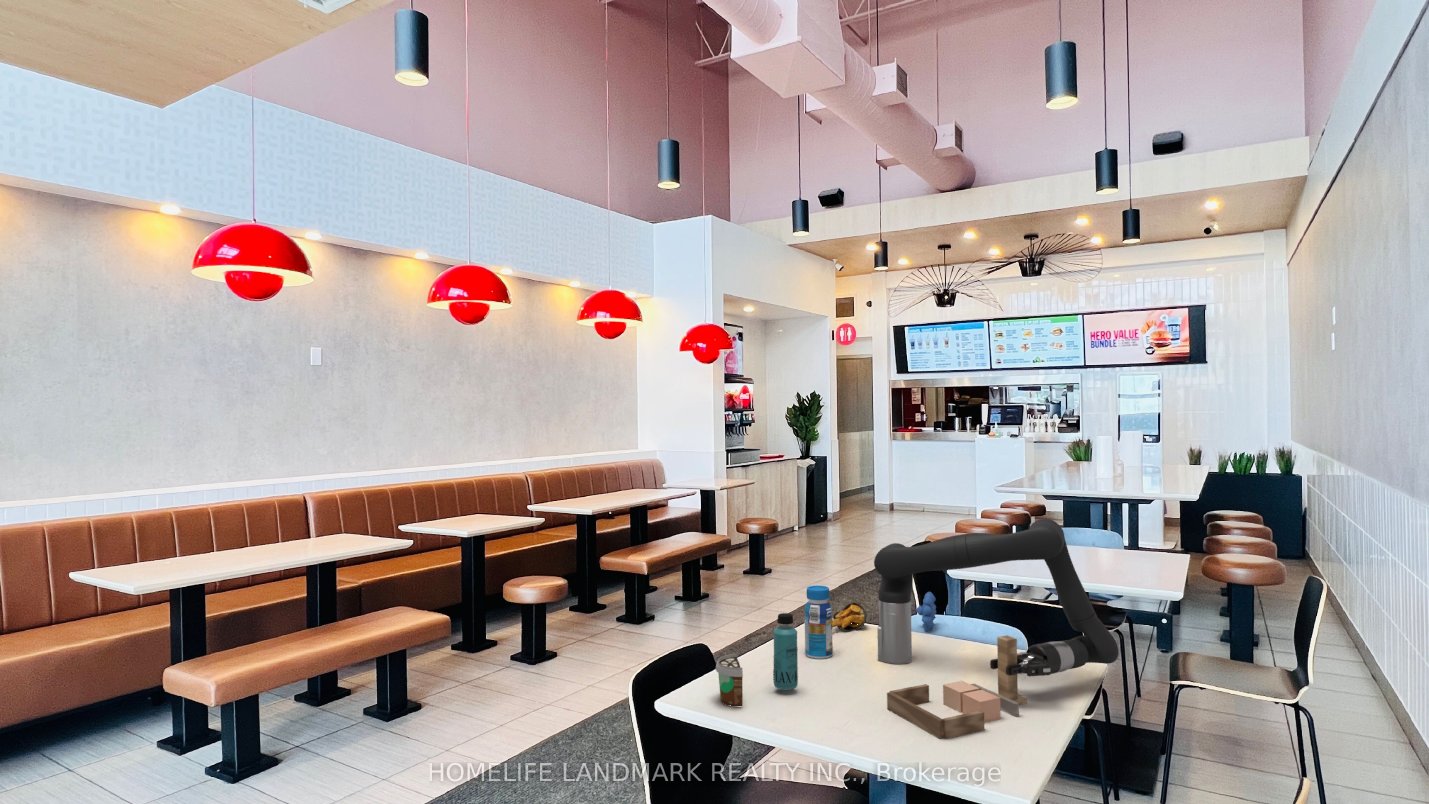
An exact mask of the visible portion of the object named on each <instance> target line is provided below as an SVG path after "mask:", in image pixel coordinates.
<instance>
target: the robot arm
mask: <svg viewBox="0 0 1429 804" xmlns="http://www.w3.org/2000/svg"><path fill="white" fill-rule="evenodd" d="M1071 558H1072V557H1071V555H1070V553H1069V550H1068V546H1067V541H1066V538H1065V533H1064V530H1063V528H1062V526H1061V525H1060V524H1059V523H1057V522H1056V521H1055V520H1053V519H1050V518H1039V519H1037V520H1035V521H1033V523H1031V525H1030V527H1029V528H1028V529H1025V530H1021V531H1017V532H1016V531H1015V532H1012V533H1011V532H1010V533H1006V534H1005V533H1002V534H998V533H988V532H987V533H986V532H969V533H964V534H963V533H962V534H957V535H951V536H947V537H942V538H940V539H936V540H933V541H930V542H927V543H924V544H921V545H914V546H906V545H904V544H903V543H902V544H901V543H898V542H897V543H896V542H894V543H890V544H888V545H885V546H884V547H882V548H880V550H879V551H878V552H877V553H876V555H875V557H874V560H873V564H874V569H875V571H876V572H877V573H878V574H879V575H880V576H881V581H880V586H879V589H878V594H877V595H878V626H877V661H880V662H884V663H888V664H893V665H894V664H895V665H901V664H902V665H903V664H904V665H905V664H908V663H911V662H912V660H913V657H912V656H913V652H912V651H913V648H912V646H913V644H912V643H913V642H912V591H913V586H914V583H913V582H914V579H913V578H914V577H913V576H914V574H918V573H924V572H934V571H939V572H941V571H951V570H953V571H954V570H962V569H970V568H977V567H983V566H989V565H996V564H1001V563H1006V562H1007V563H1008V562H1012V561H1014V562H1016V561H1036V560H1042V561H1044V562H1045V564H1046V566H1047V568H1048V570H1049V573H1050V576H1051V578H1052V580H1053V583H1054V588H1055V591H1056V593H1057V598H1058V600H1059V602H1060V604H1061V608H1062V609H1063V613H1064V614H1065V616H1066V619H1067V620H1068V623H1069V624H1070V626H1071V628H1072V629H1073V630H1074V631H1076V632H1078V633H1079V632H1080V633H1081V634H1083V635H1079V636H1075V637H1073V638H1071V639H1067V640H1059V641H1048V642H1043V643H1037V644H1032V645H1030V646H1029V647H1028V648H1027V650H1026V651H1020V652H1019V653H1018V652H1017V664H1014V665H1009V666H1006V674H1007V675H1009V676H1011V675H1016V674H1017V675H1021V676H1025V675H1027V677H1030V678H1031V677H1044V676H1051V675H1052V674H1058V673H1063V672H1066V671H1068V670H1073V669H1076V668H1081V667H1083V666H1085V665H1086V664H1090V663H1093V664H1107V665H1109V664H1112V663H1114V662H1116V661H1117V659H1118V658H1119V655H1120V654H1119V646H1118V643H1117V641H1116V639H1115V637H1114V636H1113V635H1112V633H1111V632H1110V631H1109V629H1108V628H1107V627H1106V626H1105V624H1104V623H1103V622H1102V621H1101V619H1099V617H1098V615H1097V613H1096V610H1095V609H1094V607H1093V605H1092V603H1091V601H1090V598H1089V596H1088V595H1087V592H1086V590H1085V588H1084V586H1083V584H1082V581H1081V580H1080V577H1079V576H1078V573H1077V571H1076V568H1075V566H1074V563H1073V561H1072V559H1071ZM996 656H997V657H998V653H997V655H996ZM989 662H990V663H989V665H990V666H989V667H990V669H991V670H998V658H994V659H991V660H990V661H989Z"/></svg>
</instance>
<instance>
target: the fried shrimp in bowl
mask: <svg viewBox="0 0 1429 804" xmlns="http://www.w3.org/2000/svg"><path fill="white" fill-rule="evenodd" d="M832 618H833V623H832V629H833V628H835V627H836V628H837V629H839V630H841V631H843V632H848V633H849V632H852V631H857V630H859V629H861V628H862V627H864V626H865V624H866V622H867V612H866V610H865V608H864V607H863V605H861V604H860V603H859V602H854V601H853V602H849V603H847V604H846V605H845V606H844V607H843V609H842V610H841V611H836V612H834V614H832ZM851 623H852V624H851ZM857 624H858V625H857Z"/></svg>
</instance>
